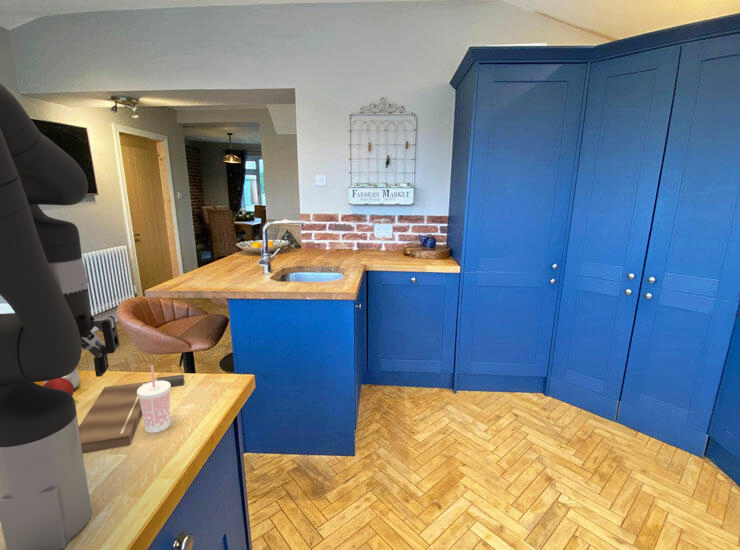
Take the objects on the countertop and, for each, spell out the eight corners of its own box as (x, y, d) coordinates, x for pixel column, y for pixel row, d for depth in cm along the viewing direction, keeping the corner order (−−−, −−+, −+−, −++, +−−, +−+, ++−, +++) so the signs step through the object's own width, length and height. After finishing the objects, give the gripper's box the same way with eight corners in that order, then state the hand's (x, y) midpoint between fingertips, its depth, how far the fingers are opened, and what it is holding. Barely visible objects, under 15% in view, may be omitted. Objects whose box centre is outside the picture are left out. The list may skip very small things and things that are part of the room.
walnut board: (169, 437, 73) (169, 428, 73) (67, 455, 67) (66, 445, 67) (184, 381, 95) (183, 374, 94) (107, 391, 89) (106, 383, 88)
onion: (56, 416, 78) (50, 383, 77) (35, 412, 79) (29, 379, 78) (82, 401, 84) (77, 370, 82) (62, 398, 85) (57, 367, 83)
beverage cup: (176, 415, 80) (171, 357, 77) (170, 432, 75) (165, 371, 72) (145, 419, 79) (139, 360, 76) (137, 437, 73) (129, 374, 70)
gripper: (-15, 294, 52) (5, 393, 56) (101, 292, 56) (112, 384, 60) (16, 280, 59) (32, 370, 63) (117, 279, 63) (126, 362, 67)
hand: (71, 376), depth 61 cm, fingers open, 8 cm apart
